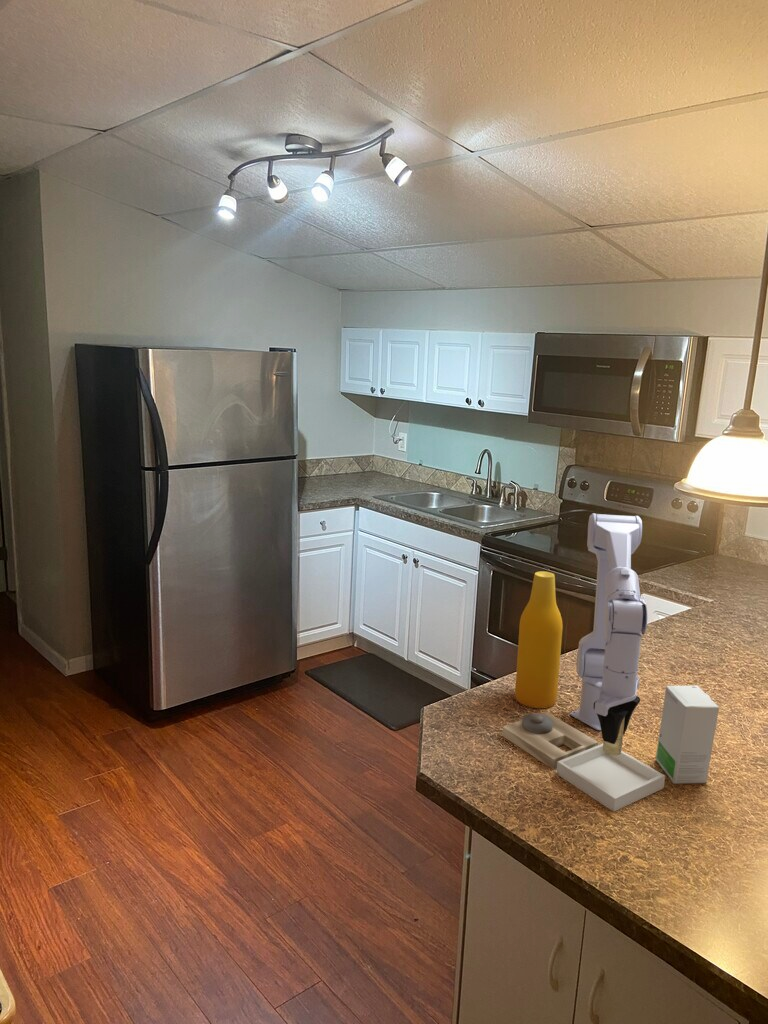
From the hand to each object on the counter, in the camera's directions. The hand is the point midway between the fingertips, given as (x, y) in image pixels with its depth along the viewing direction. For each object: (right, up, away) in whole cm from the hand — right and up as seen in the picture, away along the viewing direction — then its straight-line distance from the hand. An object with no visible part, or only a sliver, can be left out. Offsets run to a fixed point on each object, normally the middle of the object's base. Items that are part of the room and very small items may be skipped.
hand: (613, 737), depth 132 cm
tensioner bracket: (-8, -5, +14) cm, 17 cm away
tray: (0, -8, +2) cm, 9 cm away
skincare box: (+14, -8, +5) cm, 17 cm away
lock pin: (0, -3, +1) cm, 3 cm away
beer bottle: (-7, -2, +32) cm, 33 cm away
